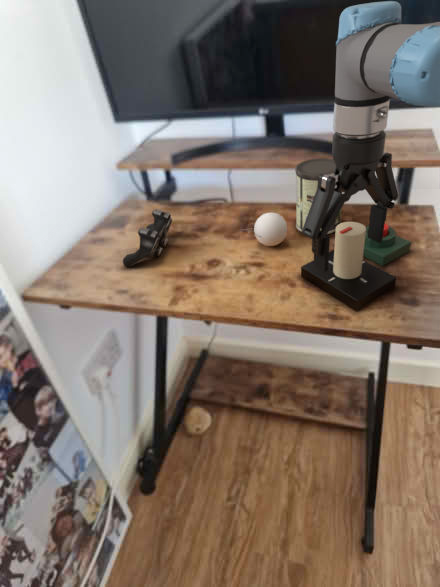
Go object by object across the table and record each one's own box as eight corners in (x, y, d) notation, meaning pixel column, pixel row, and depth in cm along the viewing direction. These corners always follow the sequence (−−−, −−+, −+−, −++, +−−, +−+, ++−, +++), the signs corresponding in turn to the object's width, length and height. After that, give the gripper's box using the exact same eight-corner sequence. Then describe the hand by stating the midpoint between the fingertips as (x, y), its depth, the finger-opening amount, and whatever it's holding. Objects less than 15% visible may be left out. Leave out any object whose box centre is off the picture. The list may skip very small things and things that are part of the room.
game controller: (147, 280, 90) (159, 246, 83) (119, 267, 89) (128, 232, 83) (170, 242, 102) (182, 210, 95) (145, 231, 101) (155, 198, 95)
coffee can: (335, 212, 98) (339, 155, 90) (344, 233, 90) (349, 172, 82) (293, 216, 99) (292, 160, 91) (298, 237, 91) (298, 177, 83)
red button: (391, 233, 81) (392, 226, 80) (379, 240, 80) (380, 232, 79) (376, 227, 84) (377, 220, 83) (364, 233, 82) (365, 226, 81)
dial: (346, 260, 77) (349, 217, 72) (367, 271, 74) (372, 226, 68) (327, 271, 76) (329, 227, 70) (347, 282, 72) (351, 237, 66)
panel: (395, 288, 73) (397, 276, 72) (356, 311, 69) (357, 299, 68) (337, 257, 83) (338, 246, 81) (300, 277, 79) (300, 265, 78)
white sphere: (290, 236, 92) (290, 206, 88) (284, 253, 87) (283, 223, 82) (248, 234, 95) (245, 205, 91) (240, 250, 90) (236, 221, 85)
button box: (409, 251, 82) (412, 233, 79) (382, 266, 79) (385, 248, 76) (370, 233, 89) (372, 217, 86) (344, 247, 86) (345, 230, 84)
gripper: (314, 161, 52) (311, 291, 65) (435, 114, 61) (412, 235, 74) (277, 149, 57) (281, 271, 70) (394, 107, 67) (379, 222, 80)
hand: (348, 253), depth 72 cm, fingers open, 13 cm apart
